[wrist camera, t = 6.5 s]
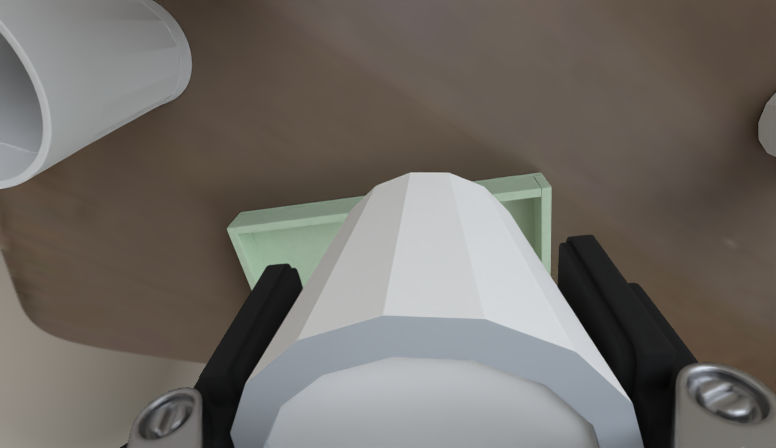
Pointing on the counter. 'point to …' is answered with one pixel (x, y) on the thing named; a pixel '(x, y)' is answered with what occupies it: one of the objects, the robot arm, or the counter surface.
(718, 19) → the counter surface
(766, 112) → the white tumbler
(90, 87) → the cup
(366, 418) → the white tapered cup
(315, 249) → the tray
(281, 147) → the counter surface
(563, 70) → the counter surface
